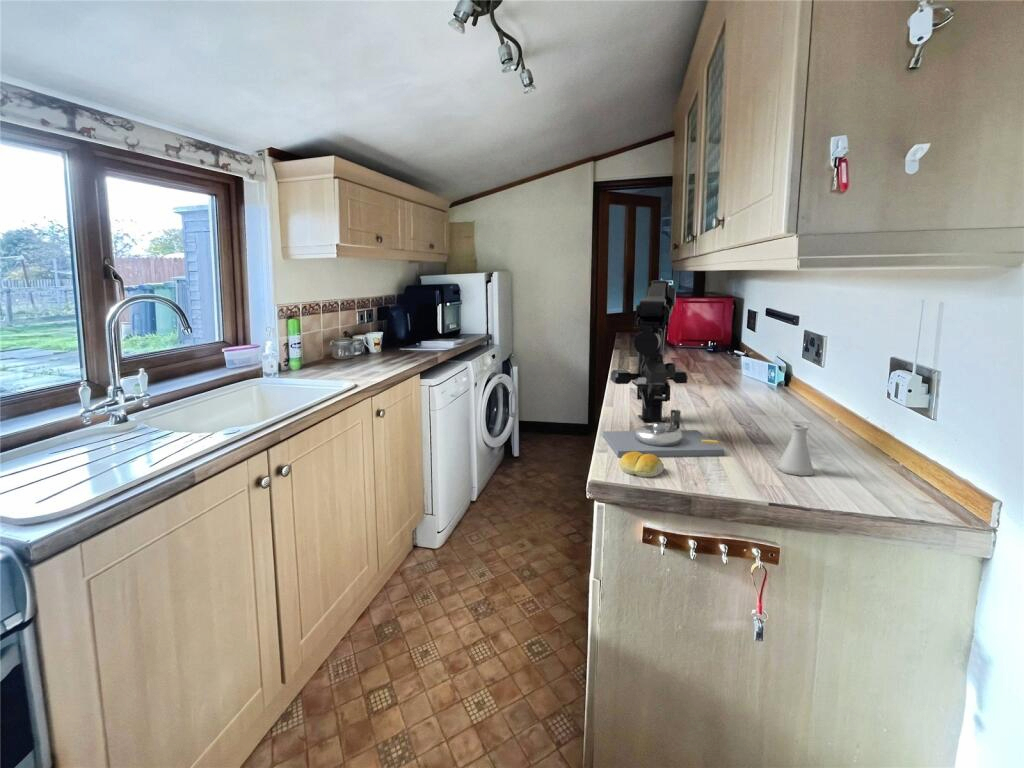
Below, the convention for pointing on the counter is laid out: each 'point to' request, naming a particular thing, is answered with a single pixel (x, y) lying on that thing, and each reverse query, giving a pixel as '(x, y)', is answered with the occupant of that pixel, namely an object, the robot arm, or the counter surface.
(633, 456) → the bread roll
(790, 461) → the flask
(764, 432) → the counter surface
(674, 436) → the silver round handled piece
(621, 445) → the slate board
